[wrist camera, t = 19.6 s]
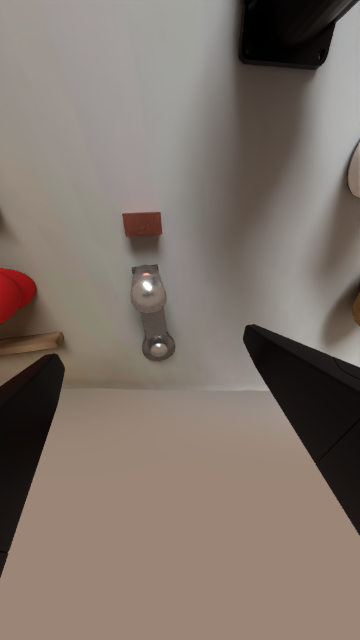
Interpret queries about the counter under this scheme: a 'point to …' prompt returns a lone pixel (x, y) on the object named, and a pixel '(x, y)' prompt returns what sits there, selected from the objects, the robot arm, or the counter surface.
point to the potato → (357, 310)
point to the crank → (151, 311)
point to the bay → (30, 343)
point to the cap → (14, 292)
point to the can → (354, 172)
